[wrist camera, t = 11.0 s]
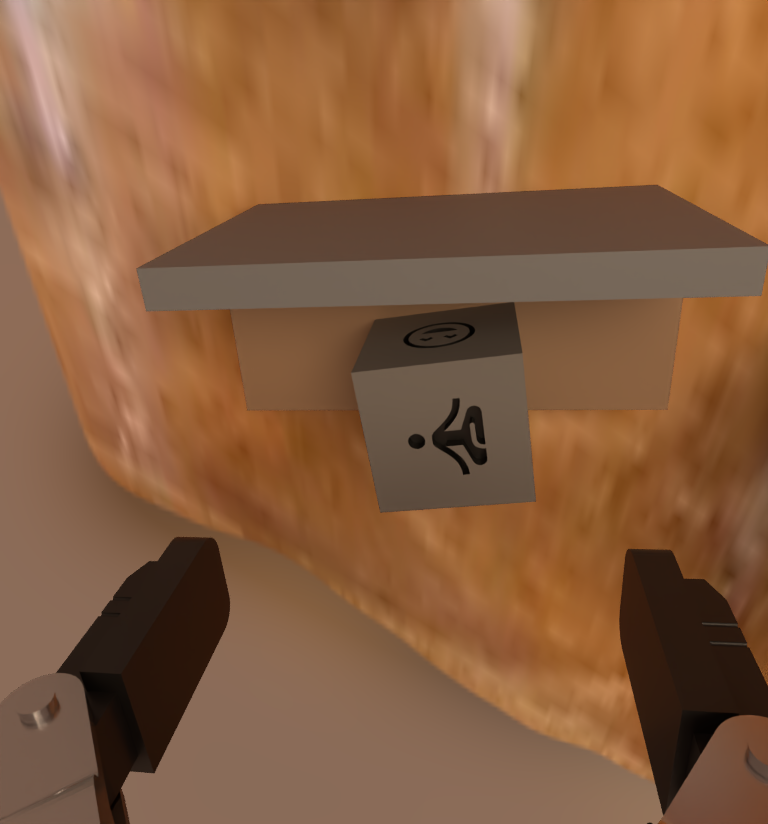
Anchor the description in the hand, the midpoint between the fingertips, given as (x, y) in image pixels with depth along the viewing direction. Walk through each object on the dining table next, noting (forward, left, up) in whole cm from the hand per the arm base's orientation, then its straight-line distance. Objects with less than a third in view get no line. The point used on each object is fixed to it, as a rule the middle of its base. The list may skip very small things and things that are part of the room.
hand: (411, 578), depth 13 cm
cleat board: (0, -1, -18) cm, 18 cm away
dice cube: (0, +1, -13) cm, 13 cm away
